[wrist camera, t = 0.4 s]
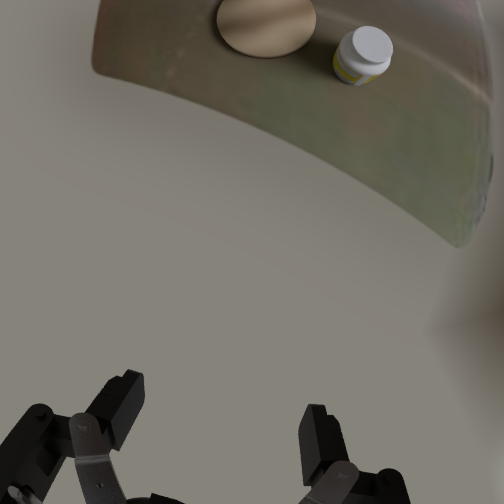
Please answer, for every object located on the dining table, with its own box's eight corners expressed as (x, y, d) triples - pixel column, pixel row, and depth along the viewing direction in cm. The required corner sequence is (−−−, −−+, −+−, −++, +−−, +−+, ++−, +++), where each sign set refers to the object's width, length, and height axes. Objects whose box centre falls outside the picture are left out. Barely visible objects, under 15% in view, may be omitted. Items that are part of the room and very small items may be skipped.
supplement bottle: (371, 49, 25) (396, 25, 16) (375, 88, 27) (403, 74, 18) (329, 45, 26) (341, 16, 17) (332, 84, 28) (347, 66, 19)
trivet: (206, 7, 25) (202, 3, 24) (289, -24, 21) (288, -29, 20) (242, 73, 29) (240, 70, 27) (331, 41, 25) (333, 37, 24)
